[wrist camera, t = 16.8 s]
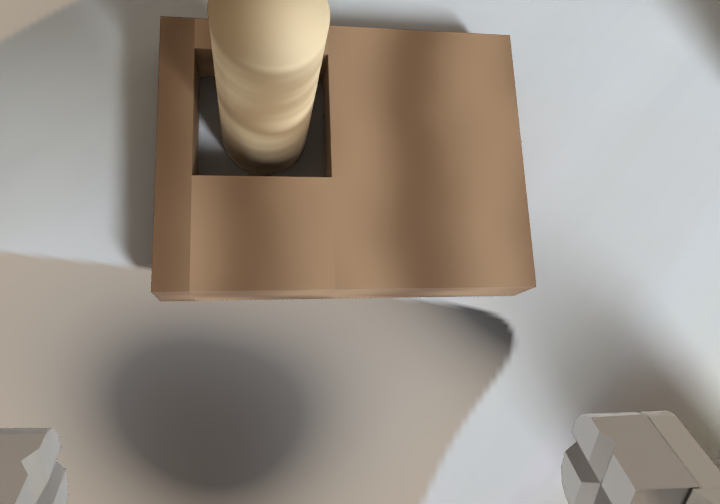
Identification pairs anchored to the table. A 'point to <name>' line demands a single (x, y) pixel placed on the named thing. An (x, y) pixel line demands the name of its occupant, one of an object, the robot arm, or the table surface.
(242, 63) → the pin
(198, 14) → the table surface
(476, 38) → the pin board
